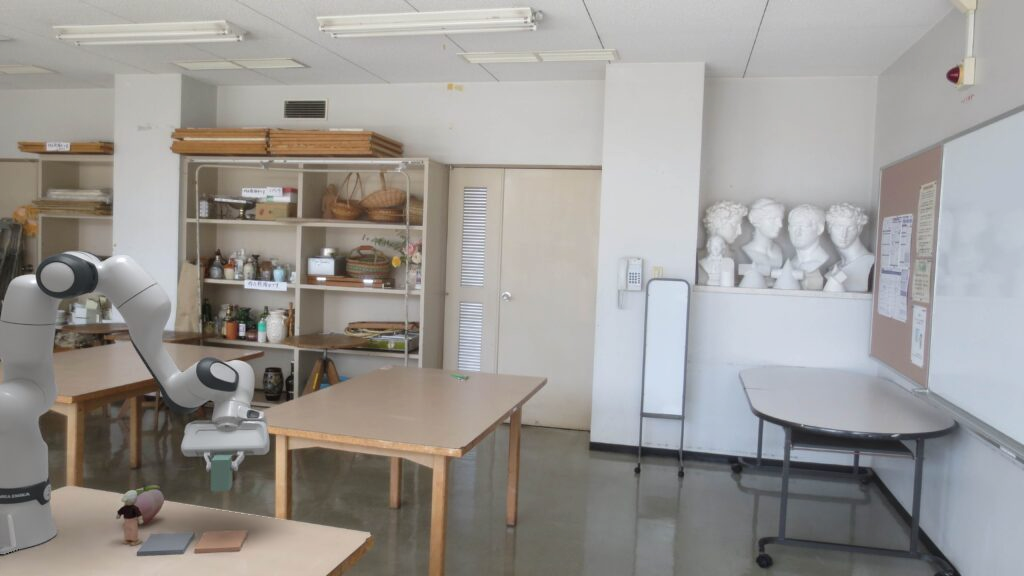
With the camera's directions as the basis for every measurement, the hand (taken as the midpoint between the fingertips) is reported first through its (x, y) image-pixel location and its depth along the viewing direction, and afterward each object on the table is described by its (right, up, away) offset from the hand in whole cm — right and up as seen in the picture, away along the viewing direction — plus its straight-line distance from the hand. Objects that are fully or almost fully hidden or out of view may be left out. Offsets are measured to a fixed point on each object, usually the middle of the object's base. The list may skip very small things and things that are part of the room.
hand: (221, 470), depth 170 cm
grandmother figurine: (-22, -18, +1) cm, 28 cm away
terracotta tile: (0, -18, +1) cm, 18 cm away
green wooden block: (0, -4, 0) cm, 4 cm away
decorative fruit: (-25, -17, +12) cm, 33 cm away
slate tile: (-13, -18, -1) cm, 22 cm away
